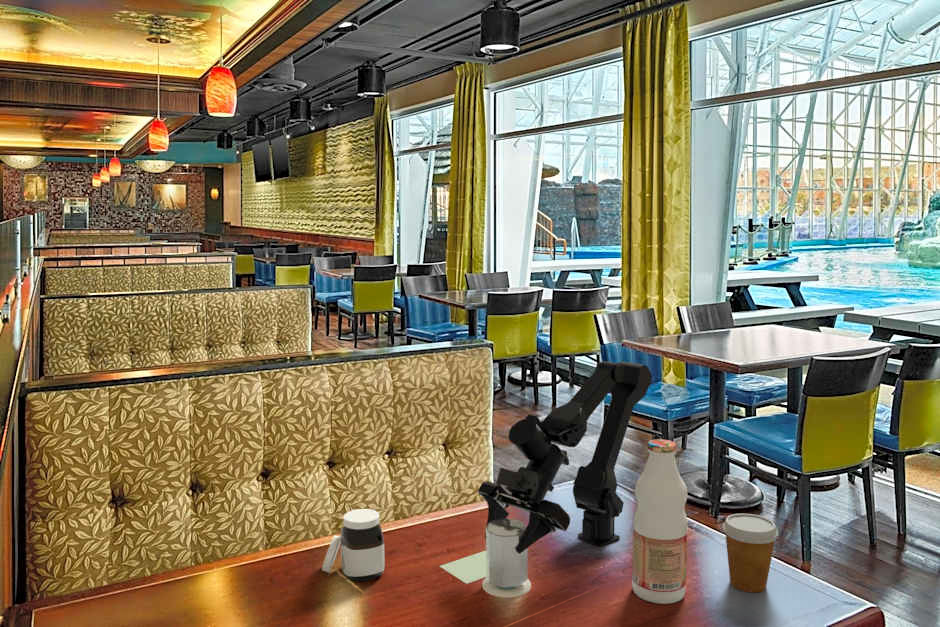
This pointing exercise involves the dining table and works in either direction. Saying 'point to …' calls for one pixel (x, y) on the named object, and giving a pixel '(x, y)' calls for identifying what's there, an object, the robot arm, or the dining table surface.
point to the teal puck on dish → (506, 589)
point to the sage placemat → (468, 567)
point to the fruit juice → (660, 528)
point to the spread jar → (358, 546)
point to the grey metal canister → (505, 553)
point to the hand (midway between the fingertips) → (501, 545)
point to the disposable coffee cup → (749, 550)
